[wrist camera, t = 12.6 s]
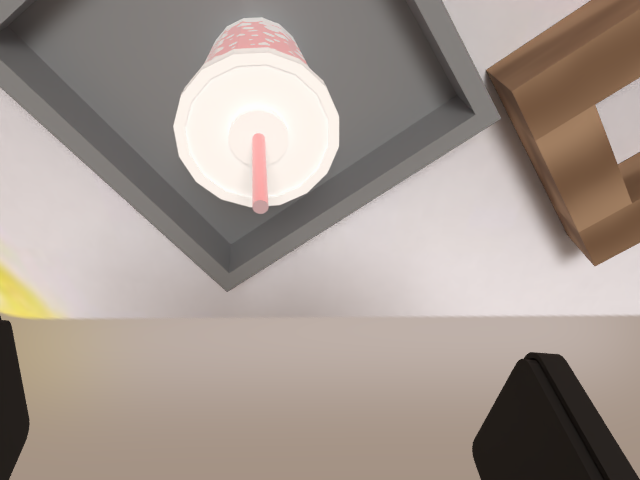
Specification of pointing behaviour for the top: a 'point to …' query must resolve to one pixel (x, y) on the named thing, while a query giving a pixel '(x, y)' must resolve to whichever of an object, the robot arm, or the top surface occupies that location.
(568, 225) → the square wooden frame block
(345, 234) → the top surface
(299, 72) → the beverage cup
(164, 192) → the tray
